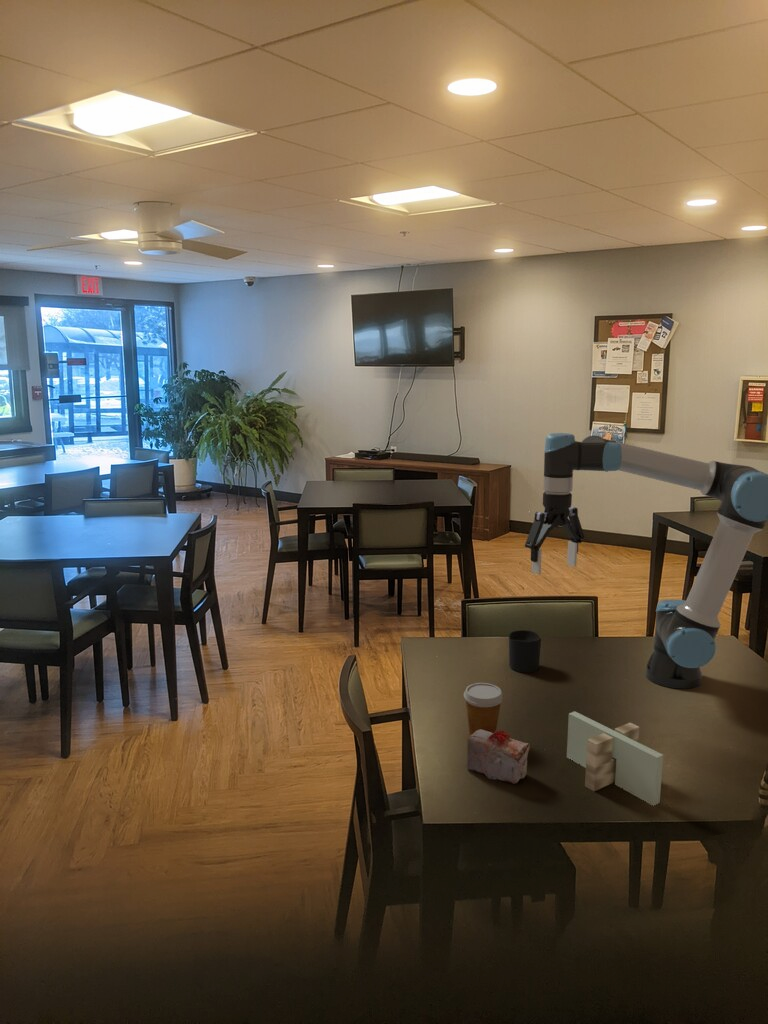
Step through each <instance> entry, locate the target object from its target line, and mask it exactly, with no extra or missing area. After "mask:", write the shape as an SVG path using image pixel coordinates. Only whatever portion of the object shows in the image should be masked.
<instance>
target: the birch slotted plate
mask: <svg viewBox="0 0 768 1024" xmlns="http://www.w3.org/2000/svg"><path fill="white" fill-rule="evenodd" d="M613 730H614V731H616V732H618V733H620V734H622V735H624V736H626V737H628V738H630V739H632V740H634V741H636V742H638V743H639V737H640V726H639V725H636V724H634V723H632V722H628V723H625V724H623V725H620V726H619V727H615V728H614V729H613ZM612 747H613V737H611V736H609V735H607V734H605V733H603V734H600V735H598V736H595V737H593V738H590V739H588V740H587V756H586V768H585V779H584V787H585V788H587V789H588V790H590V791H592V792H596V791H598V790H600V789H602V788H604V787H607V786H609V785H611V784H614V783H615V775H616V759H615V758H613V757H612ZM613 782H614V783H613Z"/></svg>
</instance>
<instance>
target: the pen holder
mask: <svg viewBox="0 0 768 1024" xmlns="http://www.w3.org/2000/svg"><path fill="white" fill-rule="evenodd" d="M541 644H542V638H541V637H540V636H539V635H538V634H537V633H536V632H534V631H532V630H526V629H523V630H521V629H520V630H519V629H518V630H514V631H511V632H510V633H509V634H508V659H509V661H508V662H509V663H508V665H509V667H510V669H511V670H512V671H515V672H518V673H523V674H524V673H527V674H528V673H530V674H531V673H534V672H536V671H537V670H538V669H539V668H540V667H539V666H540V658H541V647H542V646H541Z"/></svg>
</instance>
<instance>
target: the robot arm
mask: <svg viewBox="0 0 768 1024" xmlns="http://www.w3.org/2000/svg"><path fill="white" fill-rule="evenodd" d="M544 444H545V445H544V456H543V459H544V462H543V463H544V464H543V485H542V486H543V488H542V489H543V491H544V492H543V493H542V506H543V508H544V510H543V512H540V511H536V512H535V513H534V520H533V522H532V525H531V528H530V530H529V533H528V535H527V539H526V540H525V544H524V548H526V549H530V561H531V573H532V574H536V575H541V574H542V550H541V547H542V545H543V544H544V542H545V540H546V538H547V537H548V536H549V534H550V532H551V531H553V529H554V528H558V527H561V528H562V529H563V531H564V532H565V533H566V536H567V537H568V538H569V540H570V541H569V540H568V541H567V555H566V556H567V558H566V565H567V566H571V567H574V568H575V567H577V559H578V557H577V556H578V552H579V544H581V543H582V542H583V540H584V539H585V537H586V536H585V533H584V531H583V528H582V527H583V526H582V524H581V521H580V518H579V509H578V507H574V506H572V500H573V499H572V498H573V494H572V493H571V492H572V491H573V482H574V481H573V480H574V479H573V478H574V476H573V475H574V471H594V472H595V471H596V472H605V473H607V472H616V471H620V472H624V473H628V474H631V475H632V474H633V475H636V476H640V477H643V478H644V477H645V478H649V479H653V480H656V481H657V480H658V481H661V482H665V483H669V484H673V485H678V486H682V487H686V488H690V489H693V490H697V491H700V493H701V494H702V495H703V496H706V497H710V498H713V499H716V500H718V501H720V505H719V507H718V509H717V512H716V515H717V517H718V519H719V523H718V526H717V528H716V530H715V532H714V535H713V537H712V540H711V541H710V544H709V547H708V548H707V551H706V554H705V556H704V558H703V561H702V562H701V565H700V567H699V569H698V572H697V574H696V576H695V579H694V582H693V584H692V587H691V588H690V591H689V592H688V593H689V594H688V595H687V597H686V600H685V599H674V598H673V599H662V600H659V601H658V603H657V605H656V609H655V612H656V613H655V627H654V640H653V641H654V642H653V650H652V653H651V655H650V658H649V660H648V662H647V664H646V666H645V677H646V678H647V679H648V680H650V681H651V682H653V683H655V685H660V686H662V687H667V688H673V689H692V688H696V687H698V686H700V685H701V683H702V677H703V676H702V675H703V674H702V671H701V668H700V667H703V666H705V665H707V664H709V663H710V661H712V660H713V659H714V656H715V654H716V646H717V644H716V641H715V639H716V637H717V634H718V633H719V630H720V627H721V622H720V620H719V617H718V616H719V614H720V613H721V610H722V607H723V605H724V603H725V600H726V598H727V596H728V594H729V591H730V589H731V587H732V585H733V582H734V580H735V578H736V576H737V573H738V571H739V568H740V567H741V564H742V562H743V560H744V557H745V555H746V552H747V551H748V548H749V545H750V543H751V542H752V539H753V537H754V535H755V534H756V533H758V532H761V531H764V528H765V526H766V523H767V522H768V474H767V473H765V472H763V471H761V470H758V469H757V468H754V467H752V466H749V465H748V466H747V465H742V464H734V463H733V464H732V463H727V462H720V461H716V460H711V461H709V462H705V461H699V460H695V459H691V458H687V457H683V456H678V455H675V454H669V453H666V452H662V451H657V450H653V449H648V448H644V447H641V446H636V445H633V444H628V443H623V442H620V441H619V442H618V441H615V440H611V439H606V438H602V436H600V435H588V436H586V437H584V439H582V441H577V440H576V439H575V435H574V434H572V433H563V432H556V433H555V432H554V433H549V434H547V435H546V437H545V443H544Z"/></svg>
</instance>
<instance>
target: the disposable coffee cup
mask: <svg viewBox="0 0 768 1024" xmlns="http://www.w3.org/2000/svg"><path fill="white" fill-rule="evenodd" d="M463 698H464V700H465V705H466V713H467V724H468V733H469V736H470V735H471V734H472V733H474V732H475V731H477V730H480V729H482V730H485V731H488V732H491V733H495V731H497V727H498V724H499V723H498V722H499V715H500V709H501V703H502V701H503V700H504V695H503V693H502V690H501V688H500V687H499V686H496V685H495V684H492V683H487V682H475V683H472V684H470V685H468V686H466V688H465V691H464V692H463Z"/></svg>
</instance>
